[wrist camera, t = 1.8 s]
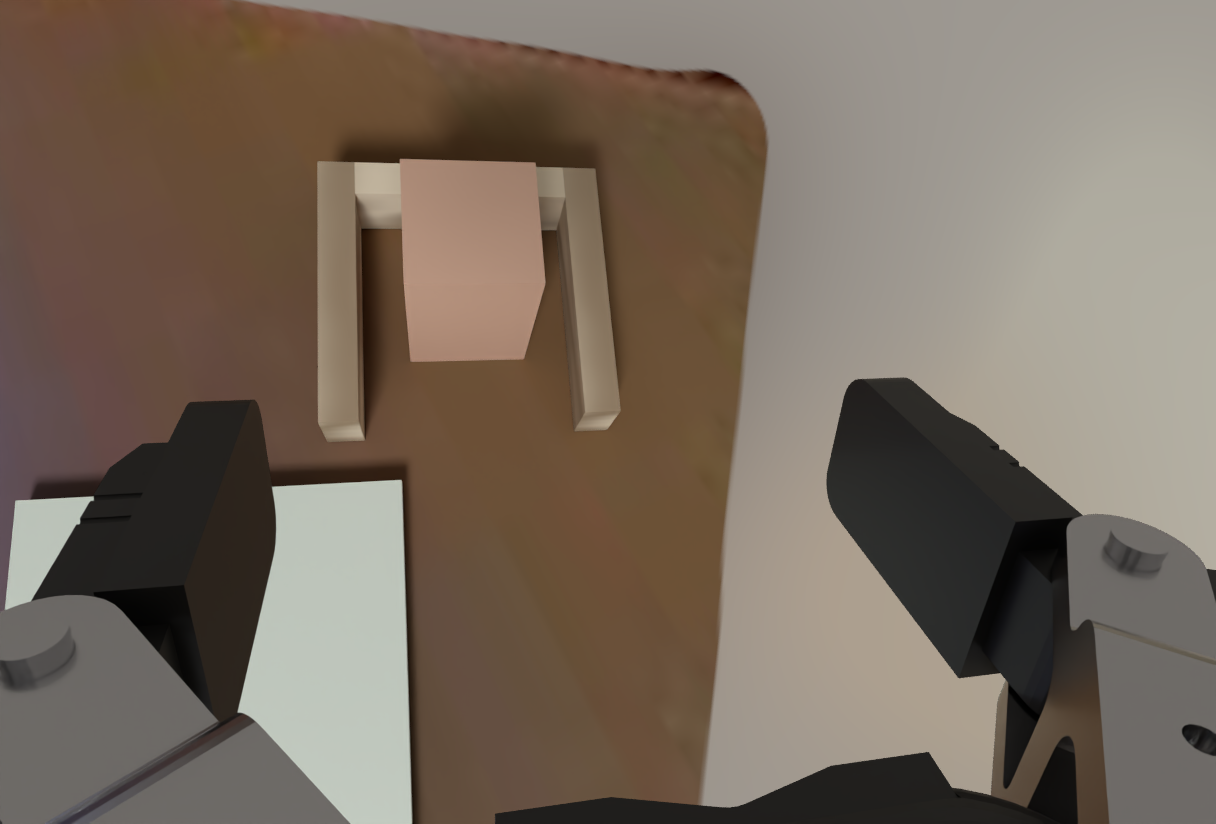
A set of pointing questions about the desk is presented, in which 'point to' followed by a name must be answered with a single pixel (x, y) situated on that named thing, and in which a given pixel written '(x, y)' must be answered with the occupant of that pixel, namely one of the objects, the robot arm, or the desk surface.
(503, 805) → the desk surface
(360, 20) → the desk surface
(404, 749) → the sage mat
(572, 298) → the maple bay
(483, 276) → the terracotta block
